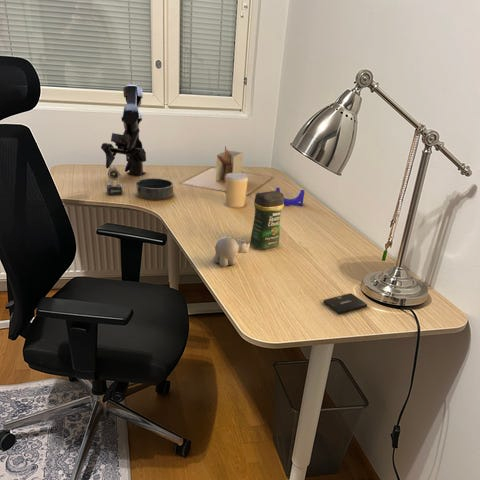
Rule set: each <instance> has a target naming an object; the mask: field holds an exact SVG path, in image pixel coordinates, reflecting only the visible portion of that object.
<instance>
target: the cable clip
mask: <svg viewBox="0 0 480 480" xmlns="http://www.w3.org/2000/svg"><path fill="white" fill-rule="evenodd" d="M275 190H276V191H278V192H281V188H280V187H275ZM304 198H305V189H300V192H299V194H298V195H297V196H296V197H294V198H287V197H284V206H287V207H289V206H298V207H303V206H304Z"/></svg>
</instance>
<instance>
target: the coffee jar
mask: <svg viewBox="0 0 480 480" xmlns="http://www.w3.org/2000/svg"><path fill="white" fill-rule="evenodd" d="M284 198H285V195H284V194H283V192H281V191H280V192H278V191H276V189H275V190H270V191H264V192H256V194H255V196H254V202H253V205H254V218H253V223H252V229H251V234H250V241H249V244H250V245H251V246H252V247H253V248H255V249H259V250H269V249H274V248H277V247H278V246H279V245H280V229H281V228H280V227H281V217H282V216H281V215H282V210H283V208H284V206H285V205H284Z"/></svg>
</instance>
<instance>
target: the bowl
mask: <svg viewBox="0 0 480 480" xmlns="http://www.w3.org/2000/svg"><path fill="white" fill-rule="evenodd" d="M135 187H136V195H137V196H138V197H139V198H141V199H144V200H148V201H149V200H150V201H162V200H163V201H164V200H168V199H170V198H171V197H172V196H173V195H174V182H172V181H171V180H168V179H165V178H156V177H155V178H154V177H151V178H144V179H140V180H137V181H136V183H135Z"/></svg>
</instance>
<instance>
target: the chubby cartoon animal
mask: <svg viewBox="0 0 480 480" xmlns="http://www.w3.org/2000/svg"><path fill="white" fill-rule="evenodd" d="M241 238H242V237H241V236H239V237H238V238H237V239H236V240H235V238H233V237H231V236H223V237H222V236H221V238H219V239H218V240H217V241H216V243H215V245H214V251H215V254H214V256H213V262H215V263H216V264H219V266H220V267H227V266H228V265H229V266H234V265H236V262H237V259H236V256H237V255H238V254H248V252H249V250H250V241H248V242H247V243H246V239H241Z"/></svg>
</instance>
